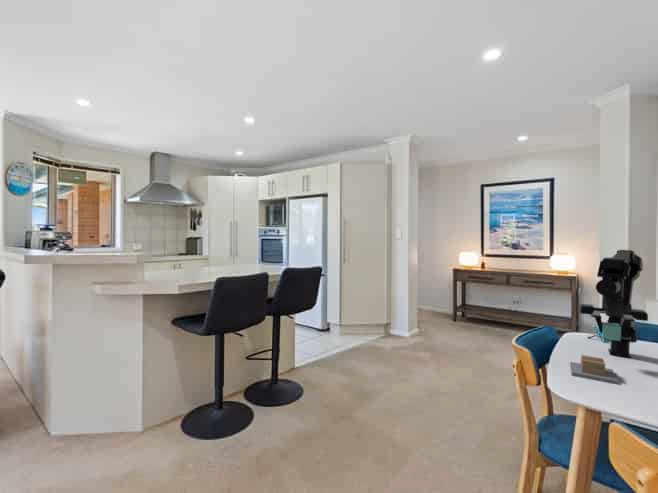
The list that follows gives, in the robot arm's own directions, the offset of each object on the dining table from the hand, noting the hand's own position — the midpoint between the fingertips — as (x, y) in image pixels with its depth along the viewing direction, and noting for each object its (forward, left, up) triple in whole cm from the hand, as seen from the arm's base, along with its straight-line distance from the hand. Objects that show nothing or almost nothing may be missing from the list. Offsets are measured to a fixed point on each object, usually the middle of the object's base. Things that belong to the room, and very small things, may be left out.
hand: (610, 335), depth 124 cm
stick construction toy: (-35, 0, -12) cm, 37 cm away
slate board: (+13, -6, -11) cm, 18 cm away
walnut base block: (+13, -6, -11) cm, 18 cm away
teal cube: (0, 0, -1) cm, 1 cm away
